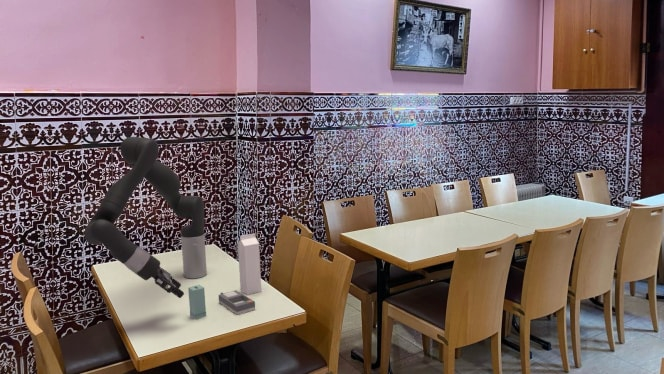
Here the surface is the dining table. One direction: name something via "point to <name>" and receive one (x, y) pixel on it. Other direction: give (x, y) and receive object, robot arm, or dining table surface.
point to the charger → (197, 301)
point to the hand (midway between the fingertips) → (180, 291)
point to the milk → (249, 264)
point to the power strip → (236, 302)
